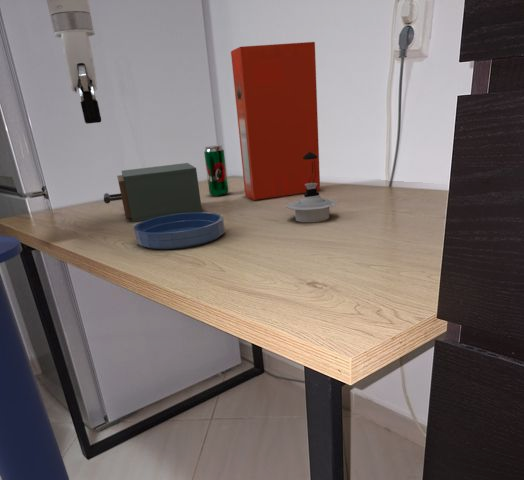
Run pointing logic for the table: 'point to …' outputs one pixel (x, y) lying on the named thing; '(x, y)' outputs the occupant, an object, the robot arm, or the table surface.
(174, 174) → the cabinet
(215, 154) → the soda can
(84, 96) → the robot arm
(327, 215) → the oil lamp
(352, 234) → the table surface
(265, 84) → the file binder
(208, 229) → the bowl
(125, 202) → the drawer
